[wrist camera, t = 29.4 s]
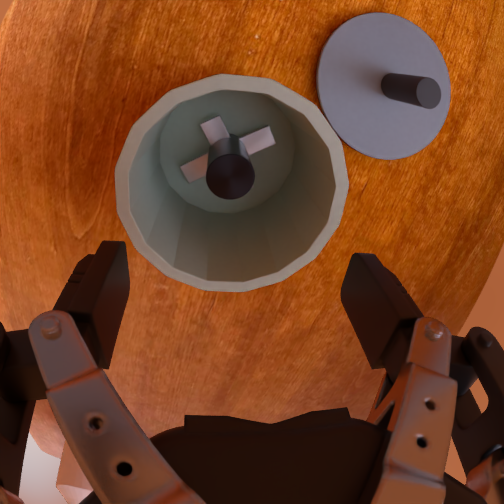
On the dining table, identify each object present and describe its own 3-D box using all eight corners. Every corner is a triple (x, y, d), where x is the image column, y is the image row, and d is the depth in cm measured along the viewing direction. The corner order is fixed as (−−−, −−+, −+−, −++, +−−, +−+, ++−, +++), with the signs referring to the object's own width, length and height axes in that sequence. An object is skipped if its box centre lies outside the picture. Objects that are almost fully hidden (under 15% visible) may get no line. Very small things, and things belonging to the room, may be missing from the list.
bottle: (75, 421, 47) (56, 536, 26) (70, 391, 41) (42, 529, 20) (133, 436, 50) (126, 553, 29) (138, 410, 45) (128, 552, 23)
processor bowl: (152, 215, 28) (124, 286, 19) (155, 72, 21) (115, 73, 12) (289, 222, 30) (320, 294, 21) (312, 86, 23) (367, 97, 14)
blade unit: (203, 202, 27) (199, 242, 21) (167, 137, 24) (150, 160, 18) (284, 165, 26) (305, 196, 20) (254, 97, 23) (267, 105, 17)
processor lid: (302, 143, 26) (326, 165, 20) (324, -5, 19) (355, -24, 13) (428, 167, 28) (468, 192, 22) (452, 43, 21) (498, 46, 15)
